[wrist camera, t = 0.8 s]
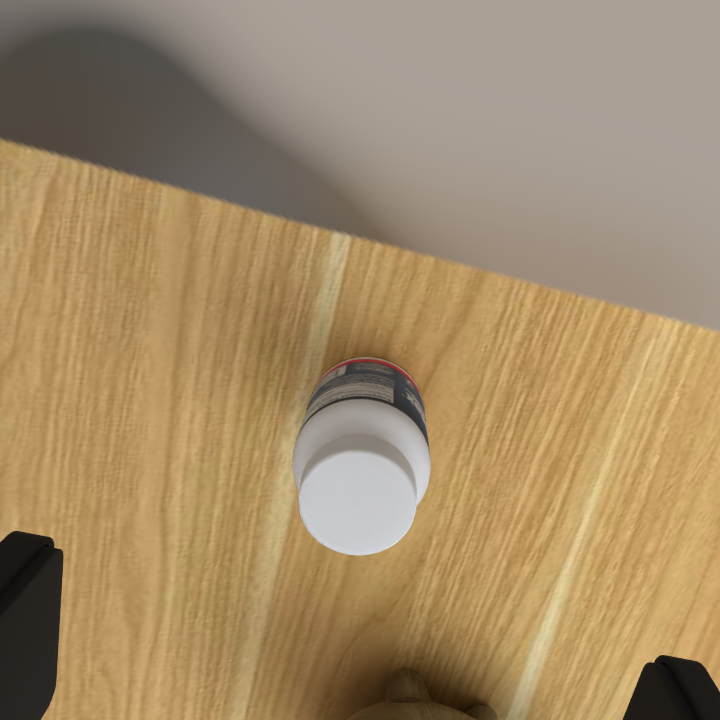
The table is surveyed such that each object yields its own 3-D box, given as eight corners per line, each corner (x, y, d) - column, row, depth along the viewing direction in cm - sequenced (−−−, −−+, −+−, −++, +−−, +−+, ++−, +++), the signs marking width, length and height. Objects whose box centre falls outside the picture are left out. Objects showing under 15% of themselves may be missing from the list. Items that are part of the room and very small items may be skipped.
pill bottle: (425, 458, 31) (438, 573, 22) (315, 462, 31) (286, 577, 23) (422, 351, 29) (433, 431, 21) (306, 356, 30) (271, 437, 21)
